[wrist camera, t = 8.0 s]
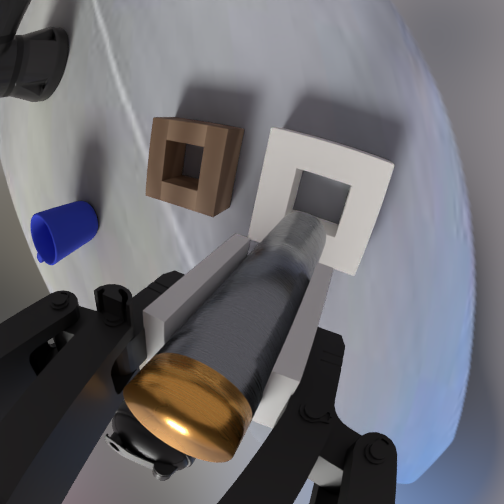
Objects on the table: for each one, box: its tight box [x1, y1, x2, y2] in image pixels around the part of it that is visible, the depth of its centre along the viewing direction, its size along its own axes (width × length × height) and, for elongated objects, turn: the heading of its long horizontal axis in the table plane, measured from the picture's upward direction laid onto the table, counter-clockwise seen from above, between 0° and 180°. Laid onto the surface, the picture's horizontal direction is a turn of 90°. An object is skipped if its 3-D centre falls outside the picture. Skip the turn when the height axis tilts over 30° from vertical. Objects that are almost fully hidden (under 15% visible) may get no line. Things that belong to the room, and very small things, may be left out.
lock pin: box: [123, 212, 326, 462], centre depth 12 cm, size 3×3×14 cm
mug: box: [31, 201, 98, 265], centre depth 39 cm, size 8×12×10 cm
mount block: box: [146, 117, 244, 217], centre depth 30 cm, size 9×9×4 cm
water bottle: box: [105, 400, 196, 481], centre depth 31 cm, size 10×10×23 cm
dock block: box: [248, 127, 394, 276], centre depth 26 cm, size 11×11×4 cm
